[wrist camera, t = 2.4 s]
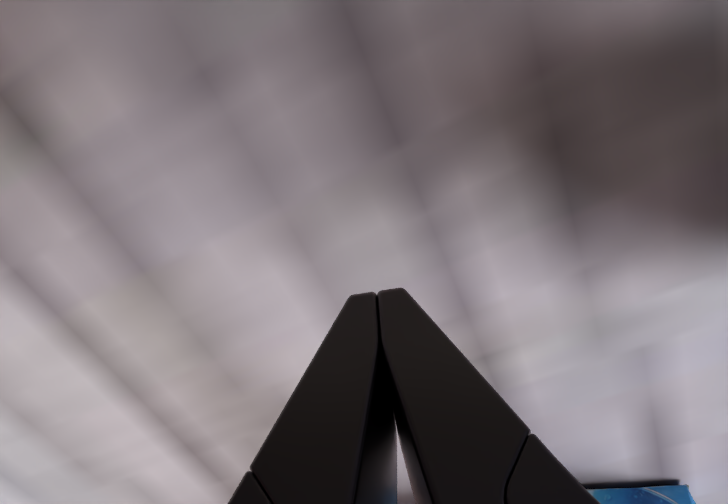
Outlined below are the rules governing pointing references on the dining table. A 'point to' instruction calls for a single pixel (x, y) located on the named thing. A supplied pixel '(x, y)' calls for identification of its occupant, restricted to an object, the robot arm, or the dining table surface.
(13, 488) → the dining table surface
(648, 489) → the soda can box
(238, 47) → the dining table surface
